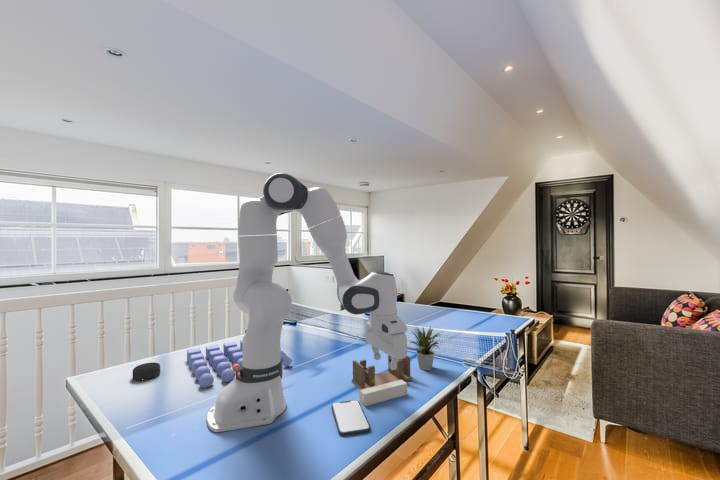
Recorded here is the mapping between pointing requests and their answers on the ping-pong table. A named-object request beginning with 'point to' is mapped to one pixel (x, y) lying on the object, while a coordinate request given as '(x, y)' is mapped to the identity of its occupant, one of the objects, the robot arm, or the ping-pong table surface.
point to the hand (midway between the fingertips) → (384, 363)
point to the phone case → (350, 418)
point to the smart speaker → (146, 371)
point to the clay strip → (383, 392)
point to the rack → (369, 379)
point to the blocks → (220, 362)
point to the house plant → (425, 348)
